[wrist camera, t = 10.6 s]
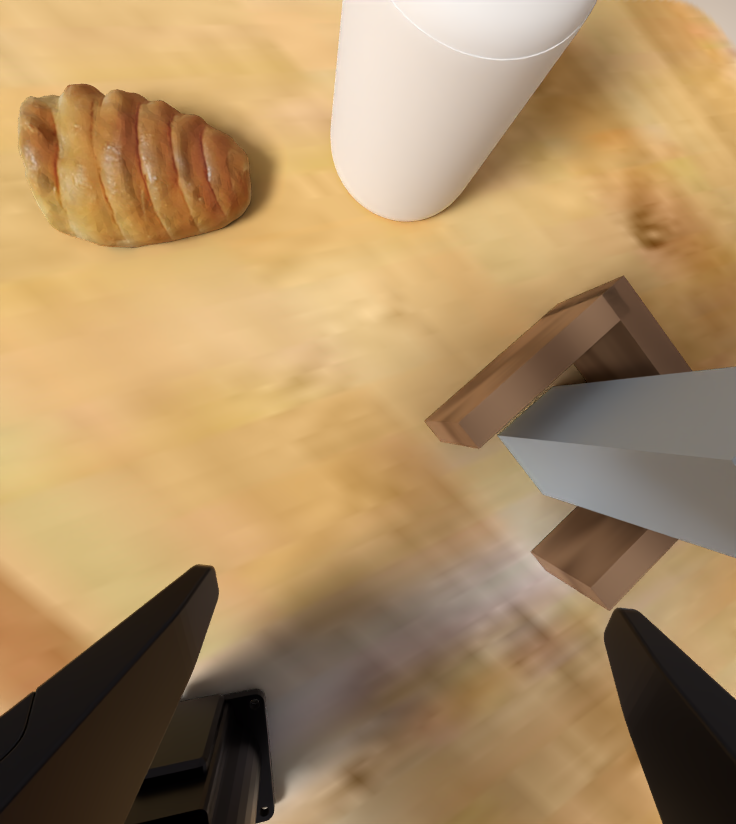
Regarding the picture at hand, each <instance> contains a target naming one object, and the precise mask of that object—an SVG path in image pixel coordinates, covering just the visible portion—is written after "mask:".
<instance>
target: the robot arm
mask: <svg viewBox="0 0 736 824" xmlns="http://www.w3.org/2000/svg"><path fill="white" fill-rule="evenodd" d="M218 595H219V588H218V583H217V578H216V572H215V569H214V567H213V566H210V565H200V564H198V565H195V566H193V567H192V568H190V569H189V570H188V571H186V572H185V573H184V574H183V575H181V576H180V577H179V578H177V579H176V580H175V581H174V582H172V583H171V584H170V585H169V586H167V587H166V588H165V589H163V590H162V591H161V592H160V593H158V594H157V595H156V596H154V597H153V598H152V599H151V600H149V601H148V602H147V603H145V604H144V605H143V606H142V607H140V608H139V609H138V610H136V611H135V612H134V613H133V614H131V615H130V616H129V617H128V618H126V619H125V620H124V621H122V622H121V623H120V624H119V625H117V626H116V627H115V628H113V629H112V630H111V631H110V632H108V633H107V634H106V635H104V636H103V637H102V638H101V639H99V640H98V641H97V642H95V643H94V644H93V645H92V646H90V647H89V648H88V649H87V650H85V651H84V652H83V653H81V654H80V655H79V656H78V657H76V658H75V659H74V660H72V661H71V662H70V663H69V664H67V665H66V666H65V667H63V668H62V669H61V670H60V671H58V672H57V673H56V674H55V675H53V676H52V677H51V678H49V679H48V680H47V681H46V682H44V683H43V684H42V685H40V686H39V687H38V688H37V689H36V692H31V693H30V694H29V695H27V696H26V697H25V698H24V699H22V700H21V701H20V702H18V703H17V704H16V705H15V706H13V707H12V708H11V709H9V710H8V711H7V712H5V713H4V714H3V715H1V716H0V824H256V823H260V822H264V821H267V820H269V819H270V818H271V817H272V816H273V814H274V806H275V798H274V787H273V776H272V765H271V754H270V743H269V732H268V721H267V710H266V699H265V694H264V693H263V691H261V690H259V689H253V690H248V691H242V692H237V693H232V694H227V695H219V694H217V695H212V696H207V697H202V698H196V699H191V700H186V701H181V702H179V701H180V699H181V697H182V695H183V692H184V690H185V688H186V686H187V683H188V681H189V679H190V677H191V674H192V672H193V670H194V667H195V664H196V662H197V659H198V656H199V653H200V650H201V647H202V644H203V641H204V639H205V636H206V633H207V630H208V627H209V624H210V621H211V618H212V615H213V612H214V609H215V606H216V603H217V600H218ZM604 643H605V647H606V651H607V654H608V658H609V662H610V666H611V670H612V673H613V677H614V681H615V685H616V688H617V692H618V696H619V700H620V704H621V707H622V711H623V714H624V718H625V721H626V724H627V727H628V730H629V733H630V736H631V738H632V741H633V744H634V747H635V749H636V752H637V755H638V758H639V760H640V763H641V766H642V768H643V771H644V774H645V777H646V779H647V782H648V785H649V788H650V790H651V793H652V796H653V798H654V801H655V804H656V807H657V809H658V812H659V815H660V818H661V820H662V823H663V824H736V699H735V698H734V697H732V696H731V695H730V694H729V693H728V692H727V691H726V690H725V689H724V688H723V687H721V686H720V685H719V684H718V683H717V682H716V681H715V680H714V679H713V678H712V677H711V676H709V675H708V674H707V673H706V672H705V671H704V670H703V669H702V668H701V667H700V666H698V665H697V664H696V663H695V662H694V661H693V660H692V659H691V658H690V657H689V656H687V655H686V654H685V653H684V652H683V651H682V650H681V649H680V648H679V647H678V646H677V645H675V644H674V643H673V642H672V641H671V640H670V639H669V638H668V637H667V636H666V635H664V634H663V633H662V632H661V631H660V630H659V629H658V628H657V627H656V626H655V625H653V624H652V623H651V622H650V621H649V620H648V619H647V618H646V617H645V616H644V615H643V614H641V613H640V612H639V611H637V610H634V609H627V608H616V609H615V610H614V611H613V613H612V616H611V618H610V620H609V622H608V624H607V627H606V629H605V632H604ZM253 699H257V700H258V701H259V702H258V703H256V704H253V703H252V702H251V700H253ZM264 806H265V807H268V808H267V809H262V807H264Z"/></svg>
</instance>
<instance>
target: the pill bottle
mask: <svg viewBox="0 0 736 824" xmlns="http://www.w3.org/2000/svg"><path fill="white" fill-rule="evenodd" d="M596 1H597V0H343V3H342V13H341V24H340V35H339V45H338V56H337V67H336V77H335V88H334V99H333V109H332V120H331V150H332V156H333V161H334V165H335V168H336V170H337V173H338V175H339V177H340V179H341V181H342V183H343V185H344V186H345V188H346V189H347V190H348V192H349V193H350V194H351V195H352V197H353V198H354V199H355V200H356V201H357V202H359V203H360V204H361V205H362V206H363V207H365V208H366V209H368V210H369V211H371V212H373V213H374V214H376V215H379V216H381V217H384V218H387V219H390V220H395V221H418V220H423V219H426V218H429V217H432V216H434V215H436V214H438V213H440V212H441V211H443V210H444V209H445V208H447V207H448V206H449V205H450V204H451V203H452V202H453V201H454V200H455V199H456V198H457V197H458V196H459V195H460V194H461V193H462V192H463V190H464V189H465V187H466V186H467V185H468V183H469V182H470V181H471V179H472V178H473V176H474V175H475V174H476V172H477V171H478V170H479V168H480V167H481V165H482V164H483V163H484V161H485V160H486V158H487V157H488V156H489V154H490V153H491V152H492V150H493V149H494V147H495V146H496V145H497V143H498V142H499V140H500V139H501V138H502V136H503V135H504V134H505V132H506V131H507V129H508V128H509V127H510V125H511V124H512V122H513V121H514V120H515V118H516V117H517V116H518V114H519V113H520V111H521V110H522V109H523V107H524V106H525V104H526V103H527V102H528V100H529V99H530V98H531V96H532V95H533V93H534V92H535V91H536V89H537V88H538V86H539V85H540V84H541V82H542V81H543V80H544V78H545V77H546V75H547V74H548V73H549V71H550V70H551V68H552V67H553V66H554V64H555V63H556V62H557V60H558V59H559V57H560V56H561V55H562V53H563V52H564V50H565V49H566V48H567V46H568V45H569V44H570V42H571V41H572V39H573V38H574V37H575V35H576V34H577V32H578V31H579V30H580V28H581V27H582V25H583V24H584V22H585V21H586V19H587V17H588V16H589V14H590V13H591V11H592V9H593V7H594V6H595V4H596Z"/></svg>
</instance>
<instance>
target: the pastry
mask: <svg viewBox="0 0 736 824" xmlns="http://www.w3.org/2000/svg"><path fill="white" fill-rule="evenodd" d="M18 149H19V152H20V155H21V158H22V160H23V162H24V166H25V169H26V171H25V176H26V179H27V181H28V184H29V186H30V189H31V191H32V194H33V196H34V198H35V200H36V202H37V204H38V206H39V208H40V209H41V211H42V212H43V214H44V215H45V217H46V219H47V220H48V222H49V223H50V225H51V226H52V227H53V228H55V229H56V230H58V231H60V232H62V233H65V234H67V235H70V236H73V237H76V238H80V239H84V240H86V241H89V242H92V243H95V244H97V245H100V246H108V247H132V248H134V247H139V246H144V245H148V244H158V243H162V242H170V241H174V240H177V239H182V238H186V237H190V236H194V235H199V234H203V233H206V232H210V231H213V230H217V229H221V228H223V227H225V226H226V225H228V224H229V223H231V222H232V221H234V220H235V219H237V218H239V217H240V216H241V215H242V214H243V213H244V212H245V210H246V209H247V207H248V206H249V204H250V201H251V181H250V173H249V160H248V156H247V154H246V153H245V152H244V150H243V149H241V148H240V147H239V146H238V145H237V144H236V143H235V142H234V140H233V139H232V137H230V136H229V135H227V134H225V133H223V132H221V131H218V130H217V129H215V128H213V127H211V126H210V125H208V124H207V123H206V122H205V121H204V120H203V119H202V118H200V117H199V116H197V115H186V114H181V113H180V112H178V111H177V110H176V109H174V108H173V107H171V106H170V105H168V104H167V103H165V102H164V101H160V100H159V101H154V102H150V101H147V100H146V99H145V98H144V97H143V96H141V95H139V94H136V93H129V92H125V91H122V90H112V91H110V92H109V93H108V94H107V95H106V96H105V95H103V94H102V93H101V92H100V91H99V90H97V89H96V88H95V87H93V86H91V85H88V84H74V85H68V86H67V87H66V89H65V90H64V92H63V94H62V95H61V96H55V95H50V96H43V97H40V98H36V97H32V96H30V97H28V98H26V100H25V101H24V102H23V103H22V104H21V107H20V114H19V118H18Z"/></svg>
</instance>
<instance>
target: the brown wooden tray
mask: <svg viewBox="0 0 736 824" xmlns="http://www.w3.org/2000/svg"><path fill="white" fill-rule="evenodd" d="M573 363H574V365H575V366H576V367H577V369H578V370H579V371H580V373H581V374H582V375H583V377H584V378H585V379H586V381H587V382H588V383H592V382H601V381H610V380H619V379H628V378H637V377H646V376H655V375H665V374H674V373H683V372H692V370H691V369H690V367H689V366H688V364H687V363H686V362H685V360H684V359H683V357H682V356H681V355H680V353H679V352H678V351H677V349H676V348H675V346H674V345H673V344H672V342H671V341H670V339H669V338H668V337H667V335H666V334H665V332H664V331H663V330H662V328H661V327H660V325H659V324H658V323H657V321H656V320H655V318H654V317H653V316H652V314H651V313H650V311H649V310H648V309H647V307H646V306H645V304H644V303H643V302H642V300H641V299H640V297H639V296H638V295H637V293H636V292H635V291H634V289H633V288H632V286H631V285H630V284H629V282H628V281H627V279H626V278H625V277H624V276H622V277H619V278H617V279H615V280H612V281H610V282H608V283H605V284H603V285H601V286H598V287H596V288H594V289H591V290H589V291H587V292H584V293H582V294H580V295H577V296H575V297H573V298H570V299H568V300H566V301H563V302H561V303H559V304H557V305H556V306H555V307H554V308H553V309H552V310H550V311H549V312H548V313H547V314H546V315H545V316H544V317H542V318H541V319H540V320H539V321H538V322H537V323H536V324H534V325H533V326H532V327H531V328H530V329H529V330H528V331H526V332H525V333H524V334H523V335H522V336H521V337H520V338H518V339H517V340H516V341H515V342H514V343H513V344H512V345H510V346H509V347H508V348H507V349H506V350H505V351H504V352H502V353H501V354H500V355H499V356H498V357H497V358H496V359H494V360H493V361H492V362H491V363H490V364H489V365H488V366H486V367H485V368H484V369H483V370H482V371H481V372H480V373H478V374H477V375H476V376H475V377H474V378H473V379H472V380H470V381H469V382H468V383H467V384H466V385H465V386H464V387H463V388H461V389H460V390H459V391H458V392H457V393H456V394H455V395H453V396H452V397H451V398H450V399H449V400H448V401H447V402H445V403H444V404H443V405H442V406H441V407H440V408H439V409H437V410H436V411H435V412H434V413H433V414H432V415H431V416H429V417H428V418H427V419H426V420H425V423H426V424H427V425H428V426H429V427H430V429H431V430H432V431H433V432H434V434H435V435H436V436H437V437H438V439H439V440H440V441H441V442H447V443H452V444H457V445H462V446H467V447H473V448H478V449H479V448H480V447H482V446H483V445H484V444H485V443H486V442H487V441H488V440H489V439H490V438H491V437H493V436H494V435H495V434H496V433H497V432H498V431H499V430H500V429H501V428H502V427H504V426H505V425H506V424H507V423H508V422H509V421H510V420H511V419H512V418H513V417H515V416H516V415H517V414H518V413H519V412H520V411H521V410H522V409H523V408H524V407H526V406H527V405H528V404H529V403H530V402H531V401H532V400H533V399H534V398H535V397H537V396H538V395H539V394H540V393H541V392H542V391H543V390H544V389H545V388H546V387H548V386H549V385H550V384H551V383H552V382H553V381H554V380H555V379H556V378H557V377H559V376H560V375H561V374H562V373H563V372H564V371H565V370H566V369H567V368H568V367H570V366H571V365H572V364H573ZM677 540H678V539H677V538H674V537H670V536H667V535H664V534H661V533H658V532H655V531H652V530H649V529H646V528H643V527H640V526H637V525H634V524H631V523H628V522H625V521H622V520H619V519H616V518H613V517H610V516H607V515H604V514H601V513H598V512H595V511H592V510H589V509H586V508H583V507H580V506H577V507H576V508H575V509H574V510H573V511H572V512H571V513H570V514H569V515H568V516H567V517H566V518H565V519H564V520H563V521H562V522H561V523H560V524H559V525H558V526H557V527H556V528H555V529H554V530H553V531H552V532H551V533H550V534H549V535H548V536H547V537H546V538H545V539H544V540H543V541H542V542H540V543H539V544H538V545H537V546H536V547H535V548H534V549H533V550H532V551H531V553H532V554H533V555H534V556H535V558H536V559H537V560H538V561H539V563H540V564H541V565H542V566H543V567H544V569H545V570H546V571H547V572H549V573H551V574H552V575H554V576H555V577H557V578H558V579H560V580H562V581H563V582H565V583H566V584H568V585H569V586H571V587H573V588H574V589H576V590H577V591H579V592H580V593H582V594H584V595H585V596H587V597H588V598H590V599H591V600H593V601H595V602H596V603H598V604H599V605H601V606H602V607H604V608H606V609H607V610H609V611H610V610H611V609H612V608H613V607H614V606H615V605H616V604H617V603H618V602H619V601H620V599H621V598H622V597H623V596H624V595H625V594H626V593H627V592H628V591H629V590H630V589H631V588H632V587H633V586H634V585H635V584H636V583H637V582H638V581H639V580H640V579H641V578H642V577H643V576H644V575H645V574H646V572H647V571H648V570H649V569H650V568H651V567H652V566H653V565H654V564H655V563H656V562H657V561H658V560H659V559H660V558H661V557H662V556H663V555H664V554H665V553H666V552H667V551H668V550H669V549H670V548H671V547H672V545H673V544H674V543H675V542H676V541H677Z"/></svg>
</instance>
